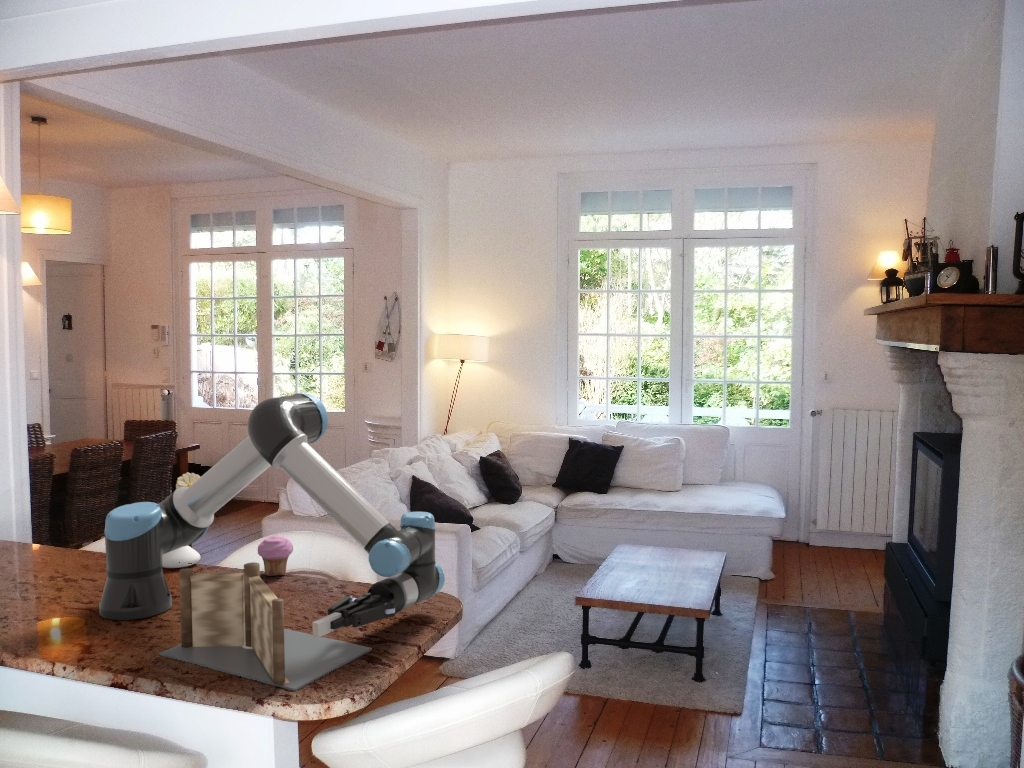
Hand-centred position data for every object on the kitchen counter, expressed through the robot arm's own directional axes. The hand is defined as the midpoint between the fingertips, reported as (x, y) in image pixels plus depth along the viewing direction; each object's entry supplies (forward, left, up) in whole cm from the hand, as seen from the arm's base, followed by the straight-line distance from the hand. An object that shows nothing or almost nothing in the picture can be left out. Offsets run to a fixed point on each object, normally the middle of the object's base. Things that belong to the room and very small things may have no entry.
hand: (315, 629), depth 163 cm
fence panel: (-8, -5, -6) cm, 11 cm away
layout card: (-14, +1, -7) cm, 16 cm away
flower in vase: (-78, +36, -7) cm, 87 cm away
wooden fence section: (-24, -1, -7) cm, 25 cm away
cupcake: (-50, +42, -7) cm, 66 cm away
